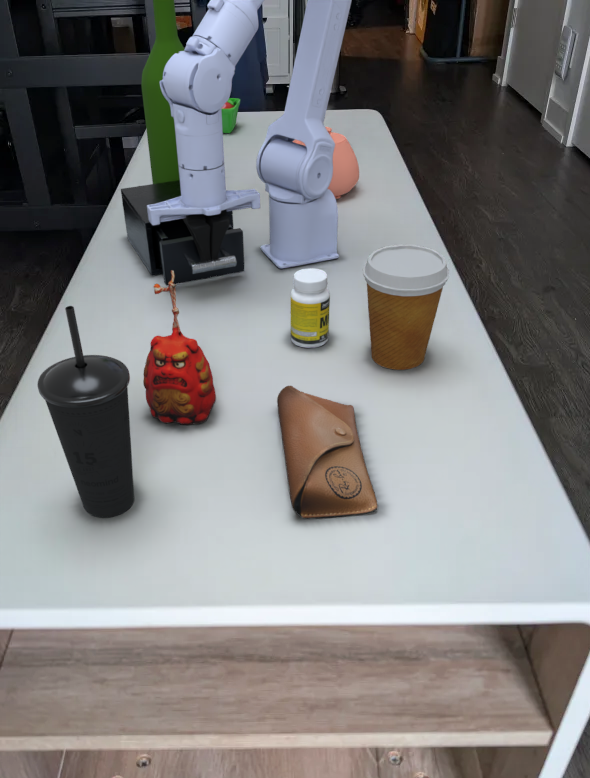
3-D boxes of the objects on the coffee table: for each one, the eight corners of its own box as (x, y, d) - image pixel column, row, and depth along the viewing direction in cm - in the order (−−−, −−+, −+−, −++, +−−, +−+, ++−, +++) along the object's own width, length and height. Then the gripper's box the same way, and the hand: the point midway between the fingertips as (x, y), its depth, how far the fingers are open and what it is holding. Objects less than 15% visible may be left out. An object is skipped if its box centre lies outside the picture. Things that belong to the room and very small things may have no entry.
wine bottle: (197, 223, 128) (177, -18, 106) (147, 217, 130) (117, -20, 109) (218, 203, 134) (203, -28, 113) (169, 198, 136) (146, -30, 115)
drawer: (256, 285, 108) (255, 243, 105) (176, 300, 105) (171, 258, 102) (214, 236, 121) (211, 198, 117) (141, 249, 118) (136, 210, 114)
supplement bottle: (325, 350, 97) (327, 285, 91) (287, 347, 97) (286, 282, 92) (331, 331, 100) (333, 267, 95) (294, 328, 101) (294, 265, 95)
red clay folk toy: (141, 426, 85) (121, 296, 75) (157, 391, 90) (140, 265, 81) (211, 431, 84) (200, 299, 74) (223, 395, 89) (214, 268, 80)
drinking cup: (72, 479, 79) (27, 289, 65) (149, 473, 79) (121, 284, 66) (63, 530, 73) (12, 334, 60) (147, 525, 73) (115, 328, 60)
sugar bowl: (355, 205, 132) (358, 140, 126) (272, 202, 134) (271, 138, 127) (361, 180, 141) (364, 118, 135) (283, 177, 143) (282, 116, 136)
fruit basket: (181, 134, 164) (175, 73, 157) (191, 121, 171) (186, 62, 163) (235, 135, 163) (232, 74, 155) (243, 123, 169) (241, 63, 162)
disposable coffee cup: (444, 343, 97) (457, 248, 89) (429, 383, 91) (442, 284, 83) (368, 332, 100) (374, 238, 92) (348, 370, 93) (353, 272, 85)
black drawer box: (235, 260, 117) (232, 208, 112) (151, 275, 113) (145, 223, 108) (204, 225, 127) (201, 176, 122) (127, 238, 124) (120, 188, 119)
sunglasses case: (385, 509, 73) (350, 462, 69) (319, 542, 75) (282, 498, 72) (353, 402, 87) (323, 358, 83) (298, 433, 89) (266, 391, 85)
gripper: (152, 181, 94) (164, 289, 103) (267, 164, 98) (269, 270, 106) (138, 163, 99) (151, 268, 108) (248, 148, 102) (251, 250, 111)
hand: (209, 268), depth 107 cm, fingers closed, pressing on drawer
